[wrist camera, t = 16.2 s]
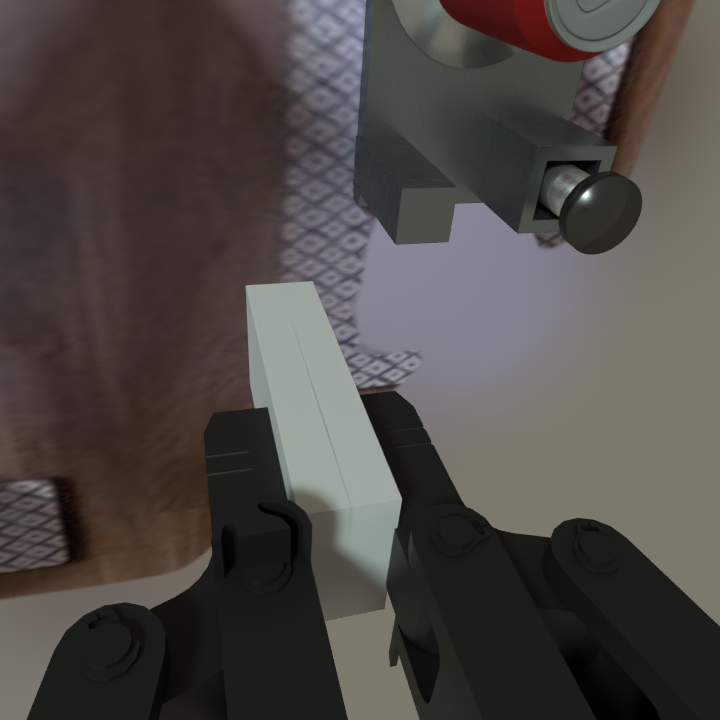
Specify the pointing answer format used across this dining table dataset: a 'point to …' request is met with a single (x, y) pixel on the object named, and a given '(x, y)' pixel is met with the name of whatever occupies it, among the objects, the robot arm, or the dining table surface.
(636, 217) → the plunger
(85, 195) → the dining table surface
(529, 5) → the beverage can
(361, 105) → the press
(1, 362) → the dining table surface
